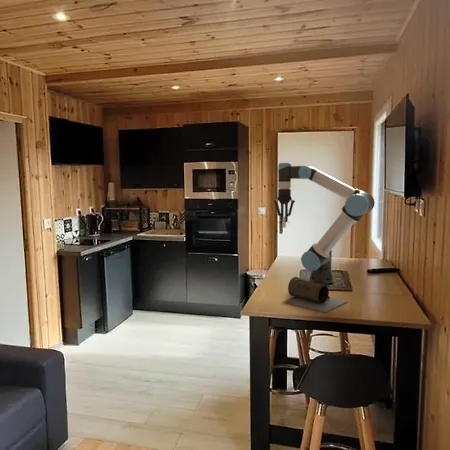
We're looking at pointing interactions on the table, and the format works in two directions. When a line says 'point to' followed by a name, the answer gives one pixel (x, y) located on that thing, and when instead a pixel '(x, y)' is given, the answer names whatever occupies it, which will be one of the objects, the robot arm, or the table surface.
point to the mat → (317, 304)
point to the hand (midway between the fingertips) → (284, 227)
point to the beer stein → (308, 290)
